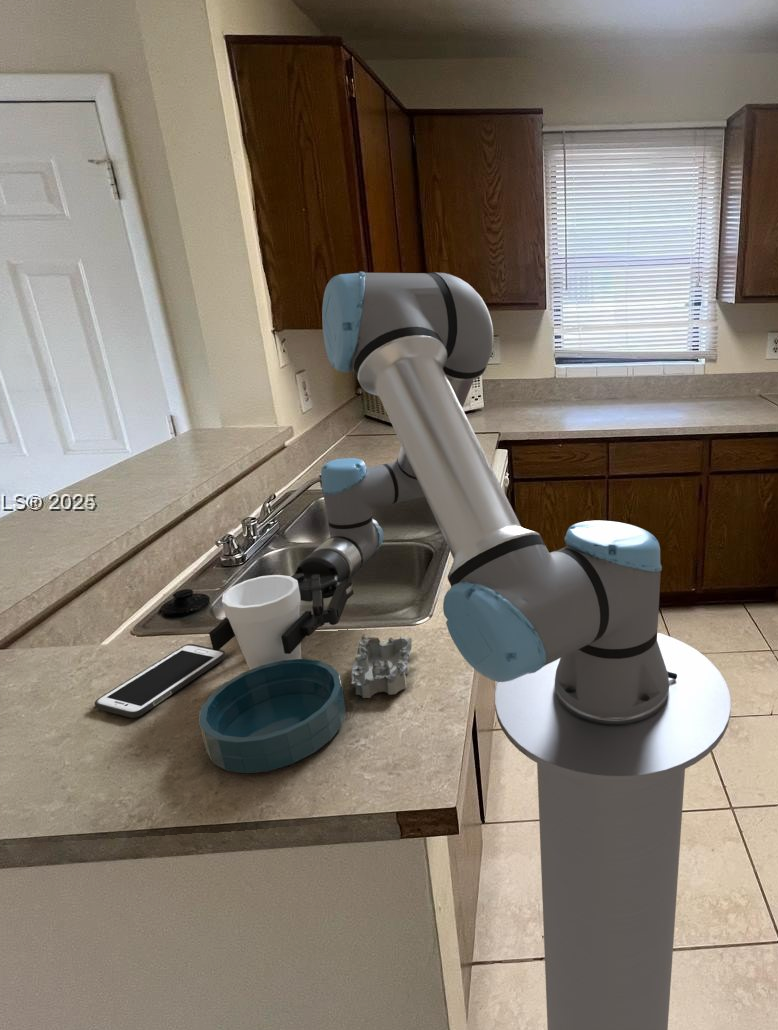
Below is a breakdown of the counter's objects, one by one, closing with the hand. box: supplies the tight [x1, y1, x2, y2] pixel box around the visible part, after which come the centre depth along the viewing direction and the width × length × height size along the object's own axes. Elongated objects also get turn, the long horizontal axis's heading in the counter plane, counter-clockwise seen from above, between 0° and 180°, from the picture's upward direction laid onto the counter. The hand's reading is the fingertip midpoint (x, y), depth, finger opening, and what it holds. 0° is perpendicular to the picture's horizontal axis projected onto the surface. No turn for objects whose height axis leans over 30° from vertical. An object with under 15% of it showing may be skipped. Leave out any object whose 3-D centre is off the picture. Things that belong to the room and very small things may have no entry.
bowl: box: [198, 658, 347, 774], centre depth 75 cm, size 16×16×5 cm
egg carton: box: [351, 634, 413, 699], centre depth 86 cm, size 11×8×4 cm
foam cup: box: [221, 574, 302, 670], centre depth 85 cm, size 10×9×13 cm
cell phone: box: [94, 643, 227, 719], centre depth 85 cm, size 8×15×1 cm, turn 163°
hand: (249, 643), depth 81 cm, fingers closed on foam cup, 9 cm apart
